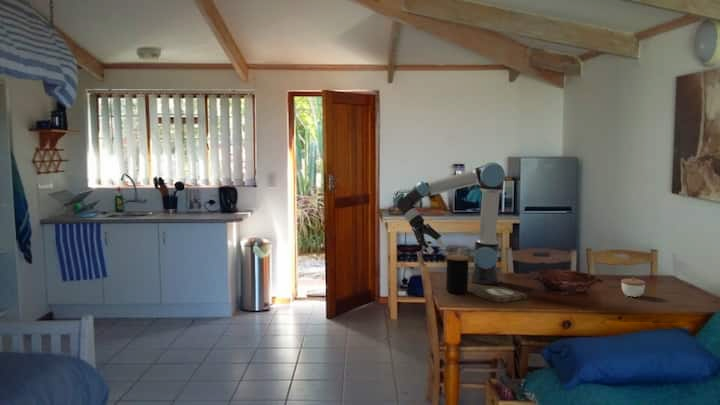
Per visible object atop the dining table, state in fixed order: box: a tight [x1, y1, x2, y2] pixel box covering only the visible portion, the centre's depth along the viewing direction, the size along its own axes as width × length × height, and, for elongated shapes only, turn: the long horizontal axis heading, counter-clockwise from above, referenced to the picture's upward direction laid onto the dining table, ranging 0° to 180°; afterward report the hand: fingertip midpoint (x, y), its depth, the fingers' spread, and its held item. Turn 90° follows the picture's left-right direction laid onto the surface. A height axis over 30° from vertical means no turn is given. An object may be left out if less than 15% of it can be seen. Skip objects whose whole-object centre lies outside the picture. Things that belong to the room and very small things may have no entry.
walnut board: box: [473, 286, 528, 304], centre depth 288 cm, size 18×18×2 cm
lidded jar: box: [621, 276, 646, 297], centre depth 292 cm, size 11×11×9 cm
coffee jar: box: [445, 254, 469, 295], centre depth 295 cm, size 11×11×18 cm
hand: (438, 250), depth 300 cm, fingers open, 13 cm apart
